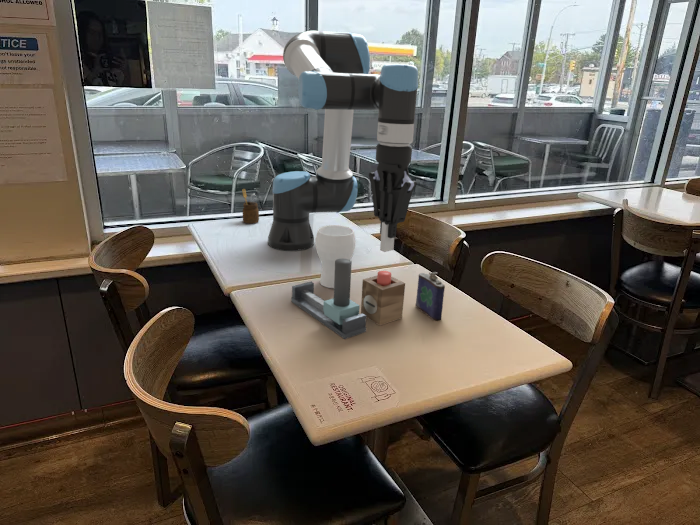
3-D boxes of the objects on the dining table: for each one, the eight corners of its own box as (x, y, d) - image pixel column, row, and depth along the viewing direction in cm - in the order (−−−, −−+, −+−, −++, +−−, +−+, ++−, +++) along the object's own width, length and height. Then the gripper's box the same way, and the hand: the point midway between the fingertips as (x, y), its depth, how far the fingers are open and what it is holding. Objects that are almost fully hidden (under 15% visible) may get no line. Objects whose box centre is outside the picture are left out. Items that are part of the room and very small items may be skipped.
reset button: (373, 290, 116) (374, 272, 114) (383, 287, 118) (385, 269, 116) (382, 295, 114) (383, 277, 112) (392, 292, 116) (394, 274, 114)
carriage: (323, 314, 113) (324, 259, 108) (342, 308, 116) (345, 255, 111) (338, 325, 108) (341, 268, 103) (358, 318, 111) (362, 263, 107)
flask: (413, 305, 124) (417, 266, 120) (422, 304, 125) (427, 264, 121) (434, 322, 116) (440, 280, 113) (445, 320, 118) (450, 278, 114)
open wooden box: (358, 314, 118) (360, 279, 115) (382, 306, 123) (385, 273, 119) (377, 326, 113) (380, 290, 110) (402, 317, 118) (405, 283, 114)
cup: (306, 282, 135) (307, 229, 130) (333, 272, 142) (335, 222, 137) (334, 294, 128) (336, 239, 123) (361, 283, 136) (364, 231, 130)
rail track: (291, 301, 123) (291, 286, 122) (311, 296, 127) (311, 281, 125) (344, 339, 107) (345, 321, 106) (366, 331, 110) (367, 314, 109)
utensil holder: (251, 225, 181) (251, 192, 177) (238, 221, 184) (237, 190, 180) (262, 221, 186) (261, 190, 182) (249, 218, 189) (248, 187, 185)
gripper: (361, 140, 106) (355, 244, 114) (402, 148, 97) (393, 261, 105) (387, 139, 110) (380, 239, 119) (429, 146, 101) (419, 255, 109)
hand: (386, 249), depth 112 cm, fingers closed
